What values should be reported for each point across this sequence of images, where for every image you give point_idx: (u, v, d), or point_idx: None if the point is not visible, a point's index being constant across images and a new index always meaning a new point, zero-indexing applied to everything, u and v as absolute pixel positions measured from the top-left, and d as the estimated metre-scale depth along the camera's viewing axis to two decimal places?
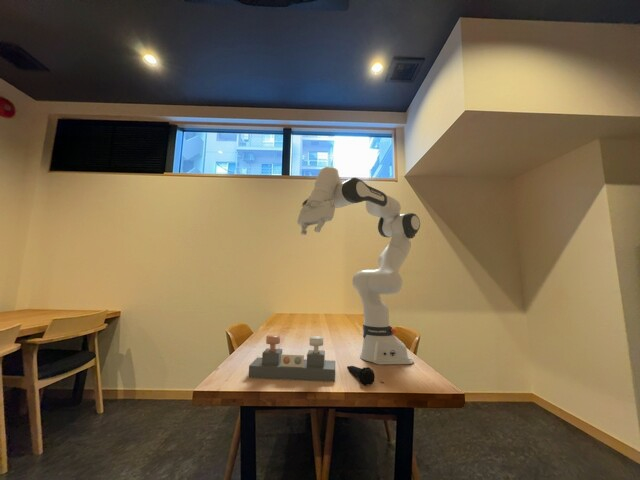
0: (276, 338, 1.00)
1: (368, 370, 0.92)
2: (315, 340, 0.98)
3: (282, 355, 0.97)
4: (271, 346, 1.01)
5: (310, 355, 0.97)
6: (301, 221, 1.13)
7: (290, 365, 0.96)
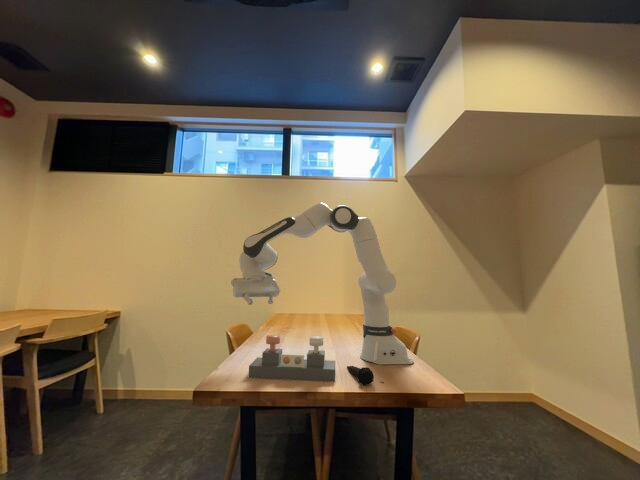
0: (276, 338, 1.00)
1: (367, 370, 0.92)
2: (315, 340, 0.98)
3: (282, 355, 0.97)
4: (271, 346, 1.01)
5: (310, 355, 0.97)
6: None
7: (290, 365, 0.96)
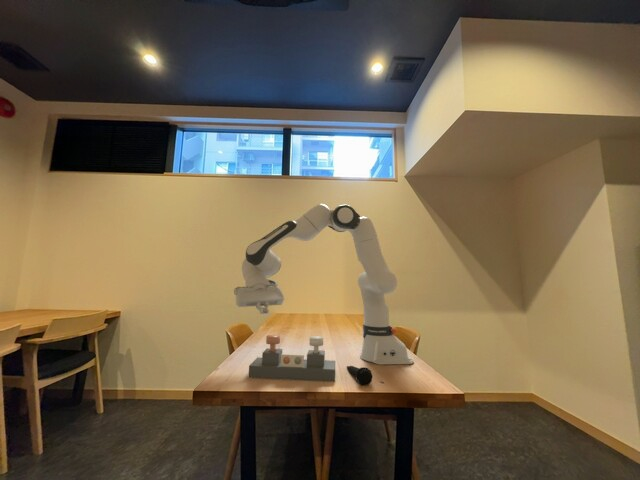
0: (276, 338, 1.00)
1: (365, 370, 0.92)
2: (315, 340, 0.98)
3: (282, 355, 0.97)
4: (271, 346, 1.01)
5: (310, 355, 0.97)
6: None
7: (290, 365, 0.96)
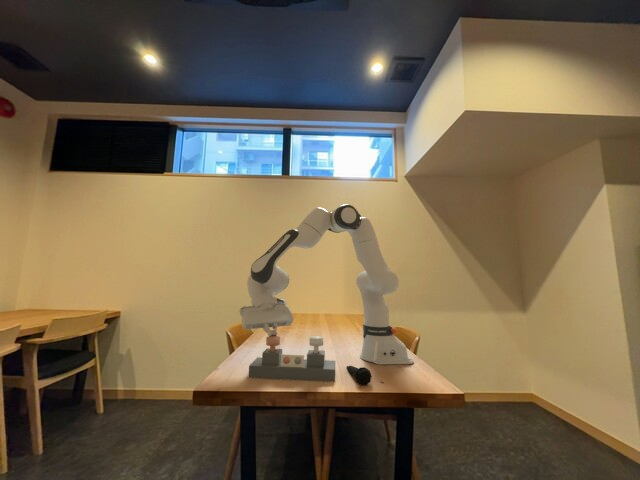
0: (276, 339, 1.00)
1: (364, 370, 0.91)
2: (315, 340, 0.98)
3: (282, 355, 0.97)
4: (271, 347, 1.00)
5: (310, 355, 0.97)
6: None
7: (290, 365, 0.96)
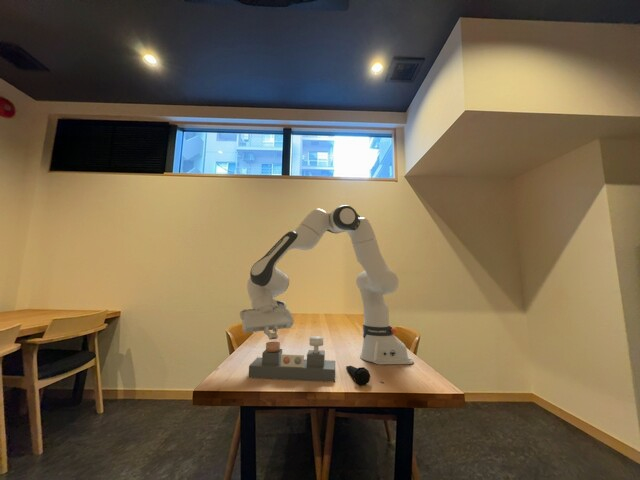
0: (276, 345, 0.99)
1: (363, 370, 0.91)
2: (315, 340, 0.98)
3: (282, 355, 0.97)
4: None
5: (310, 355, 0.97)
6: None
7: (290, 365, 0.96)
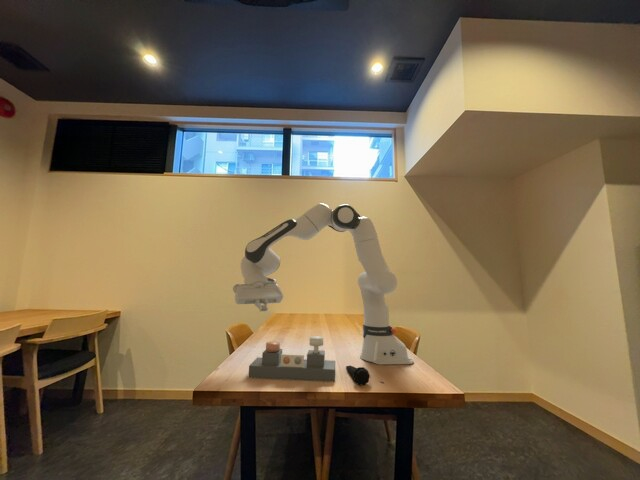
0: (276, 345, 0.99)
1: (362, 370, 0.91)
2: (315, 340, 0.98)
3: (282, 355, 0.97)
4: None
5: (310, 355, 0.97)
6: None
7: (290, 365, 0.96)
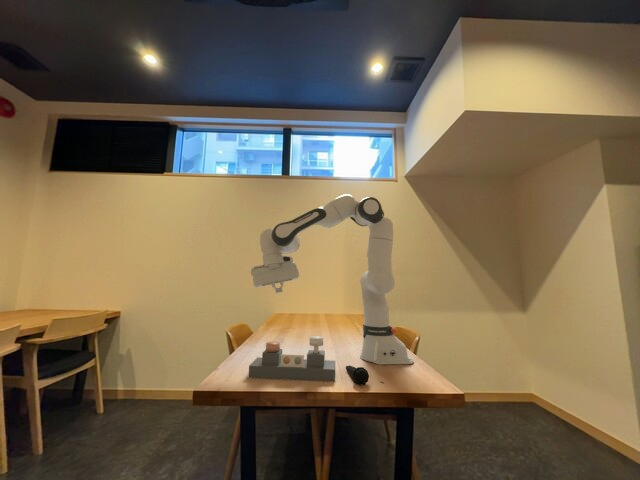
0: (276, 345, 0.99)
1: (362, 370, 0.91)
2: (315, 340, 0.98)
3: (282, 355, 0.97)
4: None
5: (310, 355, 0.97)
6: None
7: (290, 365, 0.96)
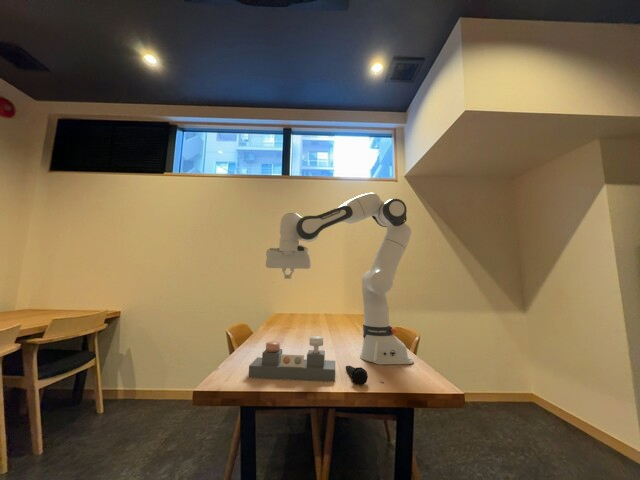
0: (276, 345, 0.99)
1: (360, 370, 0.91)
2: (315, 340, 0.98)
3: (282, 355, 0.97)
4: None
5: (310, 355, 0.97)
6: None
7: (290, 365, 0.96)
